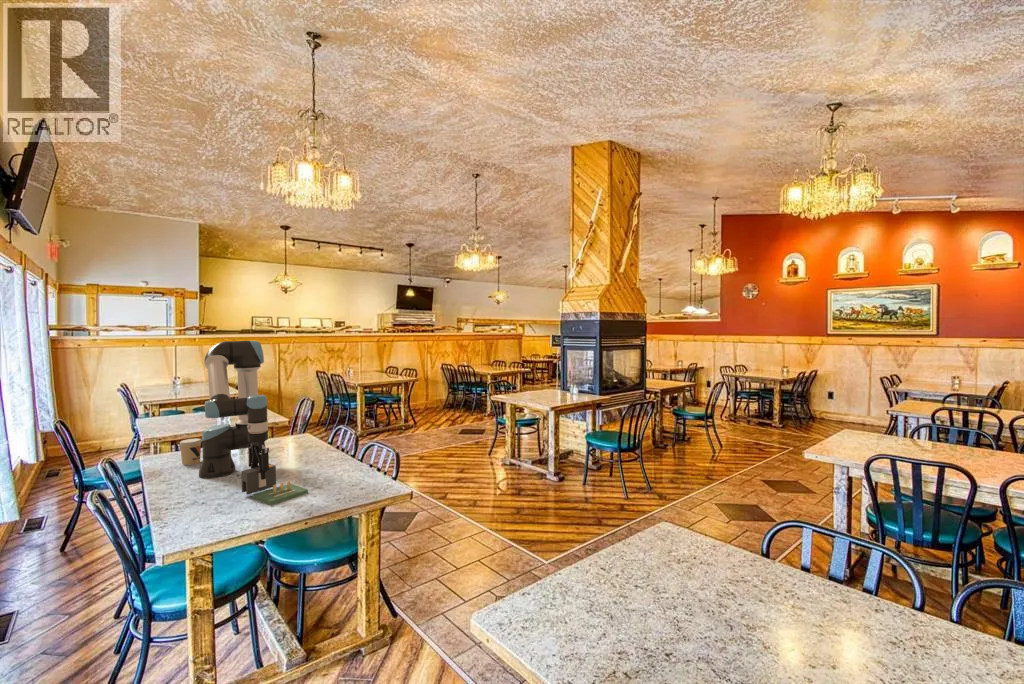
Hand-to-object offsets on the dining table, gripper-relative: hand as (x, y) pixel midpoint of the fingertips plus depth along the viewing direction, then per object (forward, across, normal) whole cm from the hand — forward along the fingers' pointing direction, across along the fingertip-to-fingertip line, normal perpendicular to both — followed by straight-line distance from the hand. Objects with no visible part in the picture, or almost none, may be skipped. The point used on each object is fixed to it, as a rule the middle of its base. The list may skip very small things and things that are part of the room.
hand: (259, 484), depth 196 cm
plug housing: (+2, 0, 0) cm, 2 cm away
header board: (+3, +11, +4) cm, 12 cm away
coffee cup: (+5, -75, +2) cm, 76 cm away
